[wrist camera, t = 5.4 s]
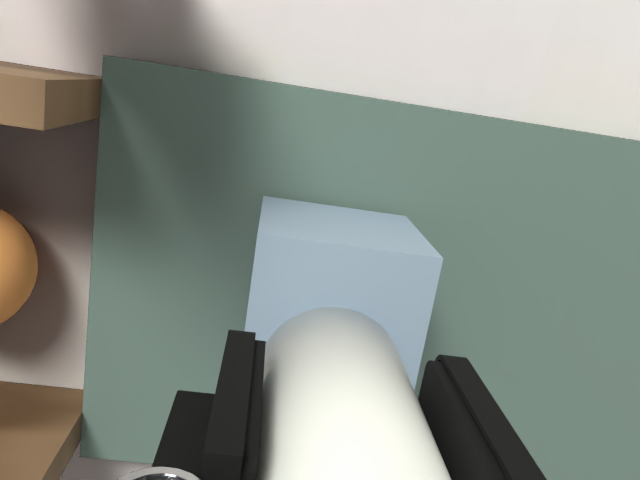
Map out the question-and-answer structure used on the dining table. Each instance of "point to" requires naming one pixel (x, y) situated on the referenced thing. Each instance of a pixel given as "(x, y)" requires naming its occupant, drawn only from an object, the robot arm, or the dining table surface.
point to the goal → (26, 399)
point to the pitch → (372, 195)
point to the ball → (15, 265)
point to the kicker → (342, 343)
